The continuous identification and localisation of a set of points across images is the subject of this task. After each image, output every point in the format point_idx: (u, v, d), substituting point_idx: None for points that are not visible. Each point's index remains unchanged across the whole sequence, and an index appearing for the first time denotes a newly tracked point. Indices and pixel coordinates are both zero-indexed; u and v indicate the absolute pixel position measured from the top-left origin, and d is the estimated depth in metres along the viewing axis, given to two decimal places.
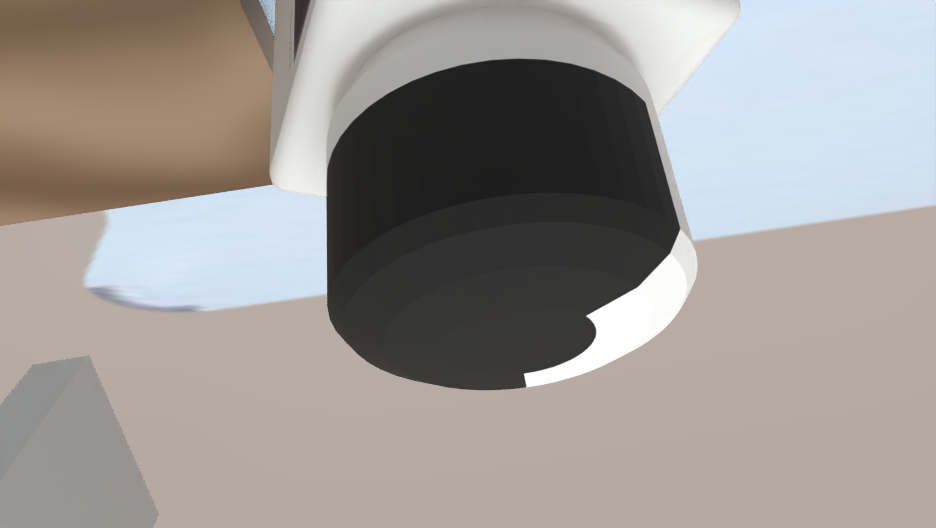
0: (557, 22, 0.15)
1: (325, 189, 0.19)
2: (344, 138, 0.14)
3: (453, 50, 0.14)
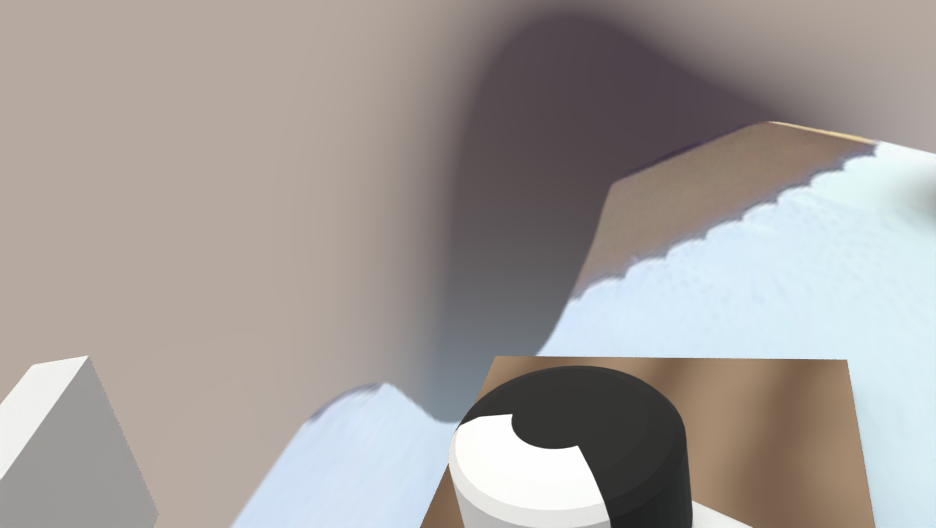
0: None
1: None
2: None
3: (692, 520, 0.23)
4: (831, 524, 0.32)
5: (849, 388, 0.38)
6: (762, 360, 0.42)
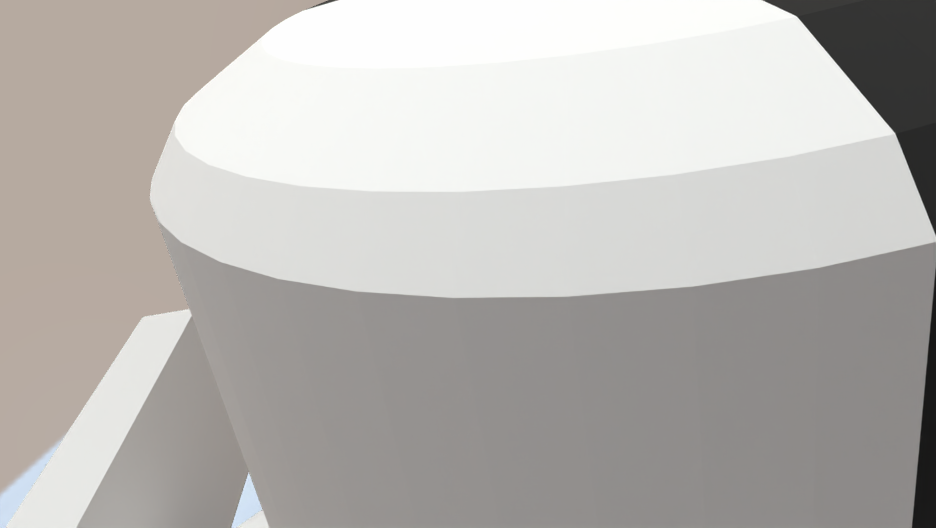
0: None
1: None
2: None
3: None
4: None
5: None
6: None
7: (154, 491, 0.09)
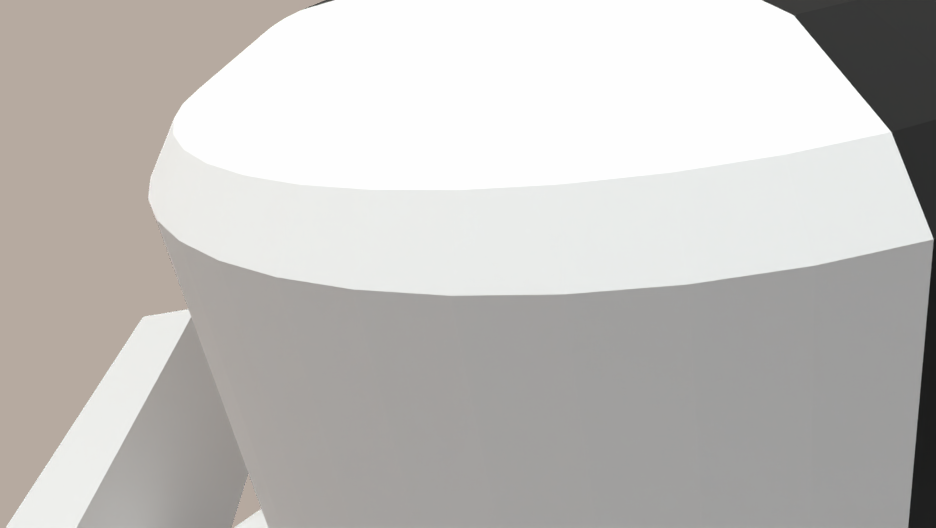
0: None
1: None
2: None
3: None
4: None
5: None
6: None
7: (155, 491, 0.09)
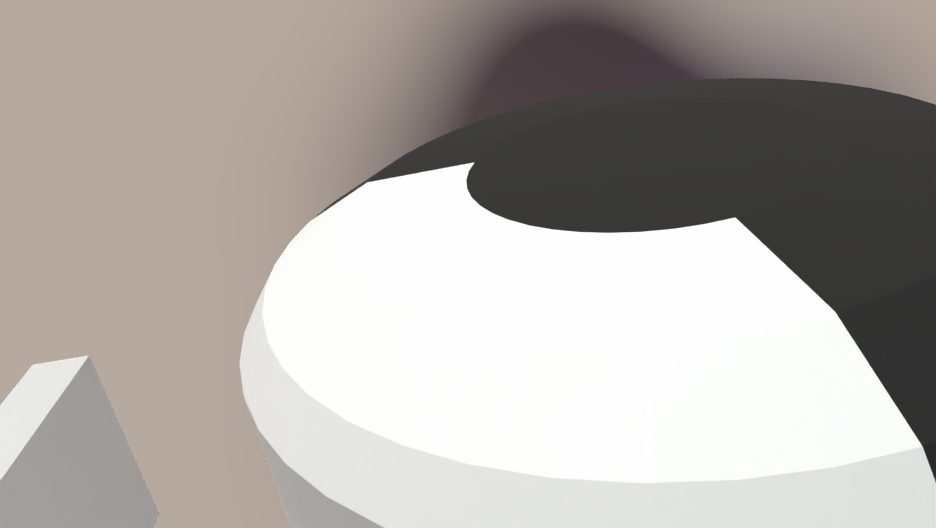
0: None
1: None
2: None
3: None
4: None
5: None
6: None
7: None
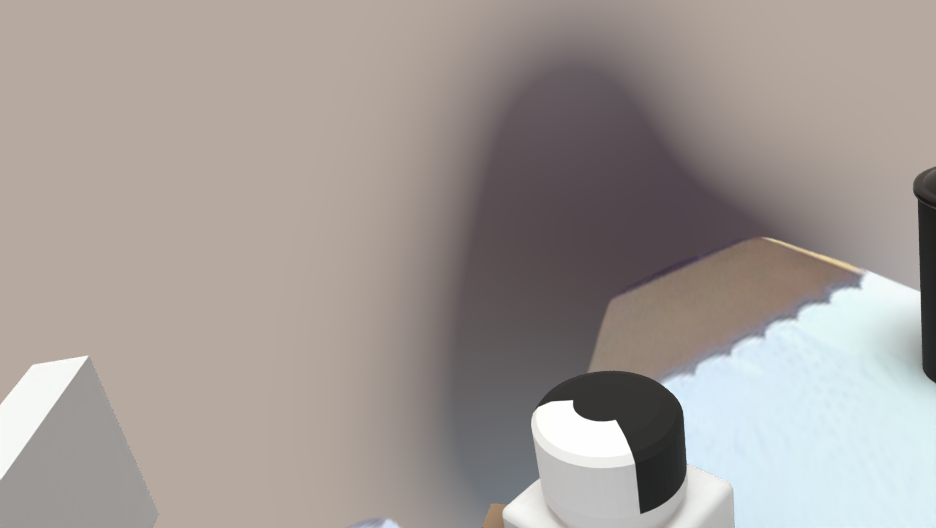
0: (666, 518, 0.35)
1: None
2: None
3: None
4: None
5: None
6: None
7: None
